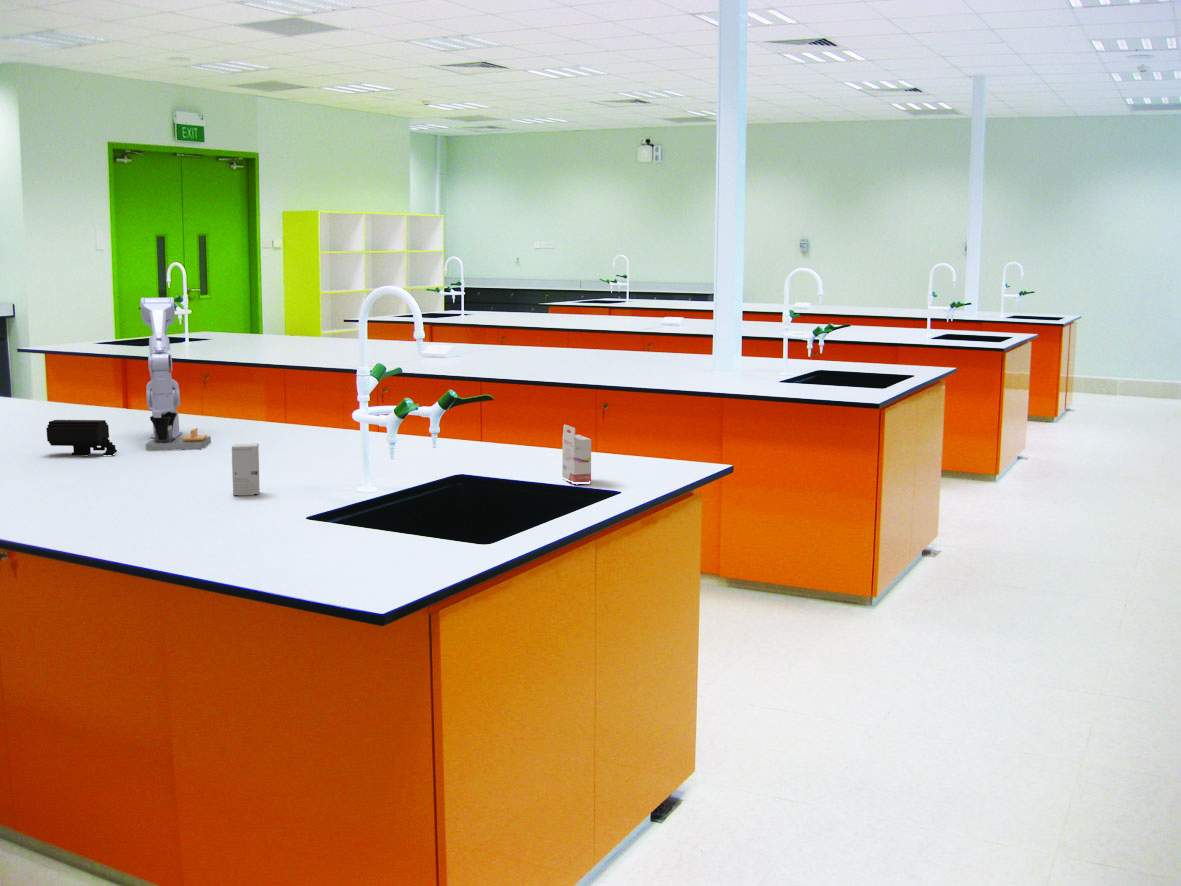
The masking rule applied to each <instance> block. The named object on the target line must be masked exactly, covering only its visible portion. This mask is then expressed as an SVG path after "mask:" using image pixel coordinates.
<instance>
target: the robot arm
mask: <svg viewBox="0 0 1181 886" xmlns="http://www.w3.org/2000/svg"><path fill="white" fill-rule="evenodd" d="M139 302H140V315H141V319H142V322H143V324H144V325H145V326H149V329H150V330H151V332H152V334H151V336H150V337H149V338H148V346H149V347H148V348H149V349H148V350H149V355H148V357H147V359H148V371H149V375H150V381H148V382H147V384H146V391H145V392H146V406H147V407H148V411H151V416H150V417H149V419H150V421H151V423H152V433H153V434H152V435H150V436H149V439H155V430H154V427H155V429H156V432H157V436H158V439H159V440H166V439H167V432H168V425H172V437H180V435H182V434H183V433H184V432H183V431H180V419H179V416H180V415H179V413H178V411H177V408H179V407H180V406H181V398H180V396H181V395H180V387H179V383H178V382H177V381H176V380H175V379H173V378H172V372H173V356H172V354H171V345H170V338H169V336H168V334H167V333H168V332H167V331H168V329H169V326H171V325H172V324H174V323H175V316H176V315H175V314H176V313H175V299H174V297H172V296H171V297H141V298H140V301H139Z"/></svg>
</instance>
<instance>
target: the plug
mask: <svg viewBox="0 0 1181 886" xmlns="http://www.w3.org/2000/svg"><path fill="white" fill-rule="evenodd" d="M154 430H155V438H154V439H155V442H172V441H173V437H172V425H168V432H167V439H166V440H159V439H158V436H157V432H156V429H155V427H154Z"/></svg>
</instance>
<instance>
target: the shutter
mask: <svg viewBox="0 0 1181 886" xmlns="http://www.w3.org/2000/svg"><path fill="white" fill-rule="evenodd" d="M207 436H208V435H207V434H203V435H201V434H198V428H192V429H191V430H190V435H189V434H188V435H184V436H182V437H183V438H182V441H184V440H203V439H205V438H206V437H207Z"/></svg>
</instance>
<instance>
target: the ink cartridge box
mask: <svg viewBox="0 0 1181 886" xmlns="http://www.w3.org/2000/svg"><path fill="white" fill-rule="evenodd" d="M562 430H563V432H562V464H561V465H562V466H561V467H562V470H561V471H562V472H561V473H562V477H564V478H566V479H568V480H570V481H573V482H589V481H591V482H592V439H591V438H589V437H586V436H583V435H581V434H576V428H575V427H573V426H570V425H567V424H566V423H565V424H563V428H562ZM568 431H569V432H568Z"/></svg>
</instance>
